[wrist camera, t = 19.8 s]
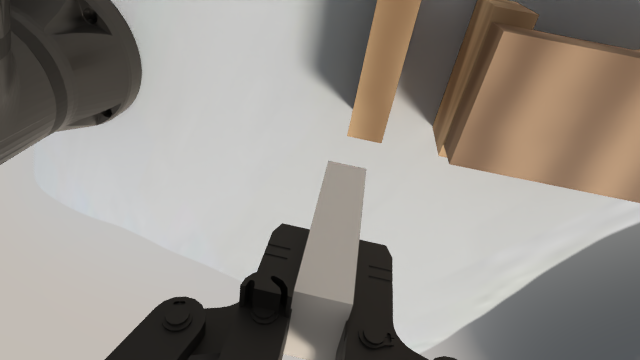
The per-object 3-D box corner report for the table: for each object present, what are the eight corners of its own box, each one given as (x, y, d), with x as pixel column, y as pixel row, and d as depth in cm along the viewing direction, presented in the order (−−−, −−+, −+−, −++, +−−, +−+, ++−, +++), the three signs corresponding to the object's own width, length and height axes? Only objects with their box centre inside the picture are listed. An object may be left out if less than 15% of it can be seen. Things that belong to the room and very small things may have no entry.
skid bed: (353, 109, 39) (347, 135, 34) (382, -25, 32) (380, -17, 27) (462, 133, 38) (473, 163, 33) (515, 1, 31) (539, 14, 26)
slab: (443, 146, 33) (449, 164, 30) (492, 21, 27) (503, 31, 25) (632, 184, 32) (654, 205, 30) (720, 67, 27) (755, 81, 24)
